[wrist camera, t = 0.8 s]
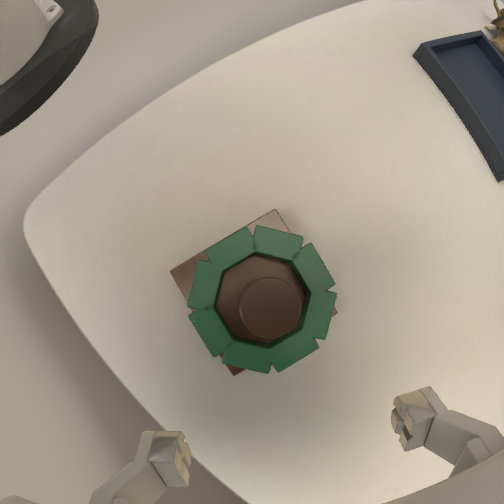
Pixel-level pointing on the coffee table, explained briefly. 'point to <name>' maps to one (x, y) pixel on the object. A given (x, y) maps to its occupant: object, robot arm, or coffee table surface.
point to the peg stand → (254, 292)
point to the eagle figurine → (500, 42)
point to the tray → (471, 88)
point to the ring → (312, 314)
